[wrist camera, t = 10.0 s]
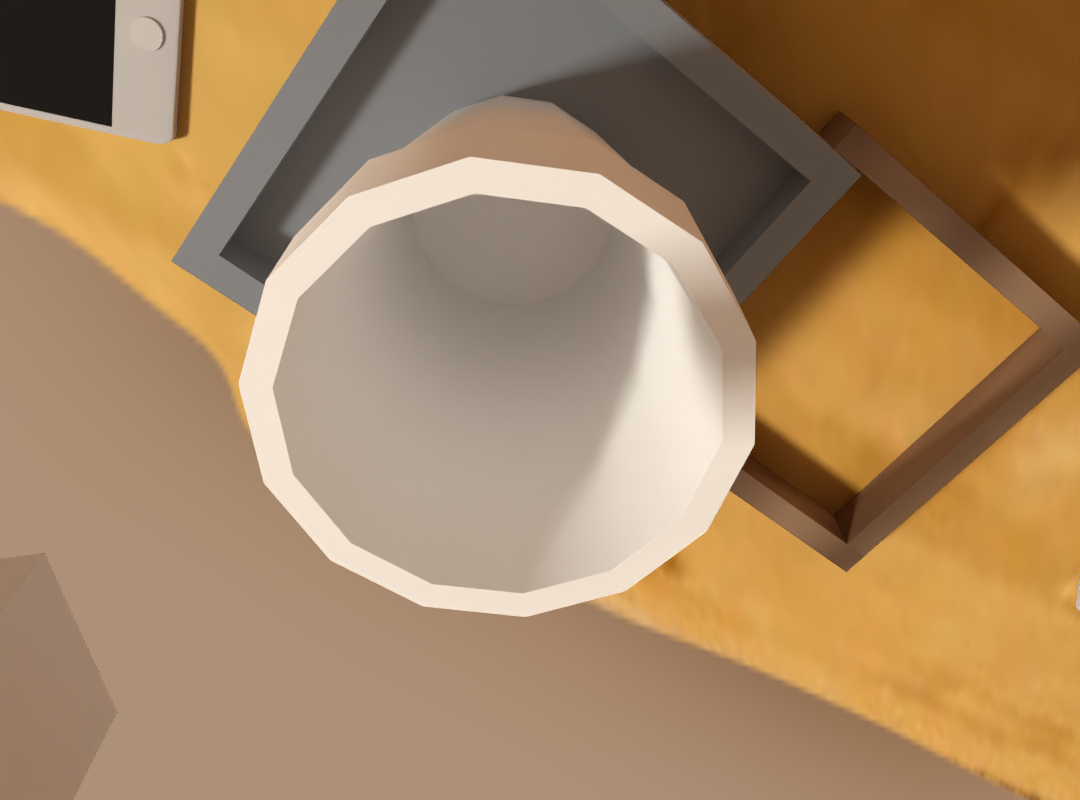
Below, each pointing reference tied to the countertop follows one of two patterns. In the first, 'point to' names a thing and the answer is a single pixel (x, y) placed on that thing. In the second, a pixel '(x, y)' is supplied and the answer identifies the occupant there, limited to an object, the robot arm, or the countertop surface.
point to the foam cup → (501, 368)
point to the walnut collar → (959, 429)
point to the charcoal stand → (533, 73)
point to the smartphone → (94, 64)
